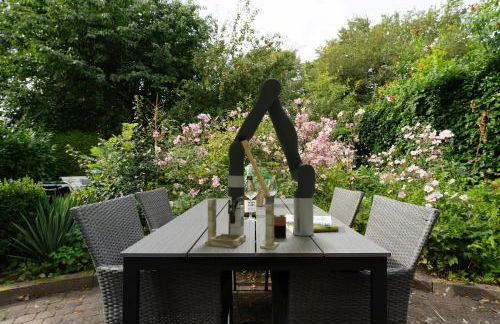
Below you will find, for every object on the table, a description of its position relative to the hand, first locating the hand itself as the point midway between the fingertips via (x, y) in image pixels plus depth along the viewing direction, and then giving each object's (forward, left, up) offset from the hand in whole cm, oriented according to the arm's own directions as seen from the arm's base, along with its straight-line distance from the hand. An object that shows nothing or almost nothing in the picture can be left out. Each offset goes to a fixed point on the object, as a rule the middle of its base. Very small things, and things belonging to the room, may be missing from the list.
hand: (235, 222), depth 141 cm
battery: (-6, +18, -7) cm, 21 cm away
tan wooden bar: (+11, +12, +23) cm, 28 cm away
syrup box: (0, 0, -7) cm, 7 cm away
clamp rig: (+11, +6, -7) cm, 14 cm away
